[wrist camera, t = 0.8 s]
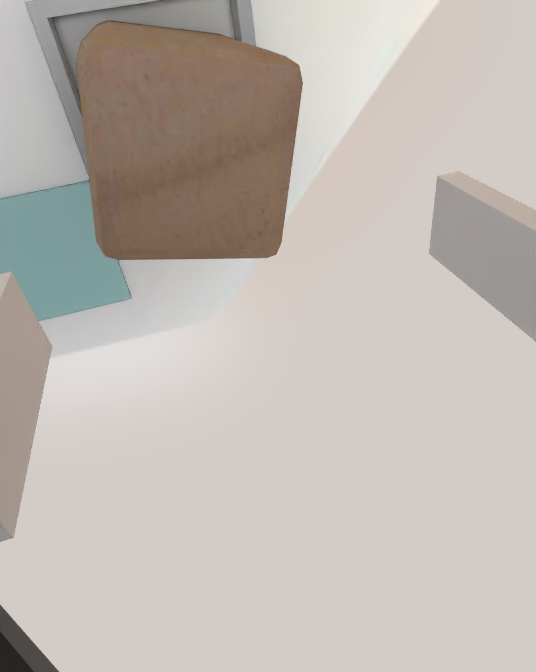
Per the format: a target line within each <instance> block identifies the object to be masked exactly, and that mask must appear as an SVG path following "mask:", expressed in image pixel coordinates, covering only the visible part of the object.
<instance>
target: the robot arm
mask: <svg viewBox="0 0 536 672" xmlns="http://www.w3.org/2000/svg"><path fill="white" fill-rule="evenodd" d="M429 254H430V255H431V256H433V257H434V258H435V259H436V260H438V261H439V262H440V263H441V264H442V265H444V266H445V267H446V268H447V269H448V270H450V271H451V272H452V273H453V274H454V275H456V276H457V277H458V278H459V279H461V280H462V281H463V282H464V283H466V284H467V285H468V286H469V287H470V288H471V289H473V290H474V291H475V292H476V293H478V294H479V295H480V296H481V297H482V298H484V299H485V300H486V301H487V302H489V303H490V304H491V305H492V306H493V307H495V308H496V309H497V310H498V311H499V312H501V313H502V314H503V315H504V316H505V317H507V318H508V319H509V320H510V321H512V322H513V323H514V324H515V325H516V326H518V327H519V328H520V329H521V330H522V331H524V332H525V333H526V334H528V335H529V336H530V337H531V338H532V339H533V340H535V341H536V210H534V209H532V208H530V207H528V206H526V205H524V204H522V203H521V202H519V201H516V200H515V199H512V198H511V197H509V196H507V195H505V194H503V193H501V192H499V191H497V190H495V189H493V188H491V187H489V186H487V185H485V184H483V183H481V182H479V181H477V180H475V179H473V178H471V177H469V176H467V175H465V174H463V173H461V172H454V173H450V174H446V175H441V176H438V177H437V184H436V193H435V203H434V212H433V221H432V230H431V240H430V249H429ZM51 349H52V346H51V344H50V342H49V340H48V338H47V336H46V334H45V333H44V331H43V329H42V327H41V325H40V323H39V321H38V320H37V318H36V316H35V314H34V312H33V310H32V308H31V307H30V305H29V303H28V301H27V299H26V297H25V295H24V294H23V292H22V290H21V288H20V286H19V284H18V282H17V281H16V279H15V277H14V275H13V273H12V271H11V272H7V273H2V274H0V542H1V541H4V540H7V539H11V538H14V533H15V528H16V523H17V518H18V513H19V508H20V503H21V498H22V493H23V488H24V483H25V478H26V473H27V468H28V463H29V458H30V453H31V448H32V443H33V438H34V433H35V428H36V423H37V418H38V413H39V408H40V403H41V398H42V393H43V388H44V383H45V378H46V373H47V368H48V364H49V359H50V354H51ZM0 672H59V671H58V670H57V669H56V668H55V667H54V665H53V664H52V663H51V662H50V661H49V660H48V659H47V658H46V656H45V655H44V654H43V653H42V652H41V651H40V650H39V648H38V647H37V646H36V645H35V644H34V643H33V642H32V641H31V640H30V638H29V637H28V636H27V635H26V634H25V632H23V630H22V629H21V628H20V627H19V626H18V625H17V624H16V622H15V621H14V620H13V619H12V618H11V617H10V616H9V614H8V613H7V612H6V611H5V610H4V609H3V607H2V606H1V605H0Z"/></svg>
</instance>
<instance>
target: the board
mask: <svg viewBox="0 0 536 672" xmlns="http://www.w3.org/2000/svg"><path fill="white" fill-rule="evenodd" d="M11 271H12V273H13V275H14V277H15V279H16V281H17V282H18V284H19V286H20V288H21V290H22V292H23V294H24V295H25V297H26V299H27V301H28V303H29V305H30V307H31V308H32V310H33V312H34V314H35V316H36V318H37V320H38V321H41V320H45V319H49V318H53V317H57V316H61V315H66V314H70V313H74V312H78V311H82V310H86V309H91V308H95V307H99V306H103V305H107V304H111V303H115V302H120V301H124V300H128V299H131V295H130V292H129V289H128V287H127V284H126V281H125V279H124V276H123V273H122V270H121V268H120V265H119V262H118V260H116V259H112V258H109V257H105V255H104V254H103V252H102V251H101V249H100V247H99V246H98V244H97V242H96V236H95V227H94V218H93V209H92V200H91V192H90V183H89V181H86V182H81V183H76V184H71V185H66V186H61V187H56V188H51V189H47V190H42V191H37V192H32V193H27V194H22V195H17V196H12V197H7V198H3V199H0V274H2V273H7V272H11Z"/></svg>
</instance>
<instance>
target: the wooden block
mask: <svg viewBox="0 0 536 672" xmlns="http://www.w3.org/2000/svg"><path fill="white" fill-rule="evenodd" d="M76 67H77V75H78V84H79V93H80V102H81V111H82V120H83V129H84V138H85V147H86V156H87V165H88V174H89V183H90V192H91V200H92V209H93V218H94V227H95V236H96V242H97V244H98V246H99V247H100V249H101V251H102V252H103V254H104V255H105V257H109V258H112V259H116V260H148V259H224V258H268V257H271V256H273V255H276V254H277V252H278V249H279V247H280V244H281V241H282V233H283V226H284V219H285V211H286V204H287V196H288V189H289V182H290V174H291V167H292V159H293V152H294V144H295V137H296V129H297V122H298V114H299V107H300V100H301V92H302V85H303V82H302V77H301V72H300V67H299V65H298V64H296V63H295V62H293V61H292V60H290V59H289V58H287V57H286V56H283V55H280V54H277V53H274V52H271V51H268V50H265V49H262V48H259V47H256V46H253V45H250V44H247V43H244V42H241V41H238V40H235V39H232V38H229V37H226V36H223V35H220V34H215V33H207V32H199V31H190V30H182V29H174V28H166V27H157V26H149V25H141V24H133V23H124V22H116V21H105V22H102V23H100V24H98V25H97V26H96V27H95V28H94V29H93V30H92V31H91V32H90V33H89V34H88V35H87V36H86V37H85V39H84V40H83V41H82V42H81V45H80V49H79V52H78V56H77V59H76Z"/></svg>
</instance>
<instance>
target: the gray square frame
mask: <svg viewBox="0 0 536 672" xmlns="http://www.w3.org/2000/svg"><path fill="white" fill-rule="evenodd" d="M151 1H158V0H34V1H28V2H25V3H26V6H27V9H28V12H29V14H30V17H31V20H32V22H33V25H34V28H35V31H36V33H37V36H38V39H39V42H40V44H41V47H42V50H43V53H44V55H45V58H46V61H47V64H48V66H49V69H50V72H51V75H52V77H53V80H54V83H55V86H56V88H57V91H58V94H59V97H60V99H61V102H62V105H63V107H64V110H65V113H66V116H67V118H68V121H69V124H70V127H71V129H72V132H73V135H74V138H75V140H76V143H77V146H78V149H79V151H80V154H81V157H82V160H83V162H84V165H85V168H86V171H87V173H88V165H87V156H86V147H85V138H84V129H83V120H82V111H81V102H80V99H79V96H78V93H77V90H76V88H75V85H74V82H73V79H72V76H71V73H70V70H69V67H68V64H67V61H66V58H65V55H64V52H63V49H62V47H61V44H60V41H59V38H58V35H57V32H56V29H55V26H54V23H53V20H52V17H56V16H62V15H69V14H75V13H81V12H88V11H94V10H101V9H107V8H113V7H120V6H126V5H132V4H139V3H145V2H151ZM230 3H231V10H232V17H233V25H234V32H235V39H236V40H238V41H241V42H244V43H247V44H250V45H253V46H256V43H255V35H254V26H253V18H252V9H251V1H250V0H230ZM88 176H89V174H88Z"/></svg>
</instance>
